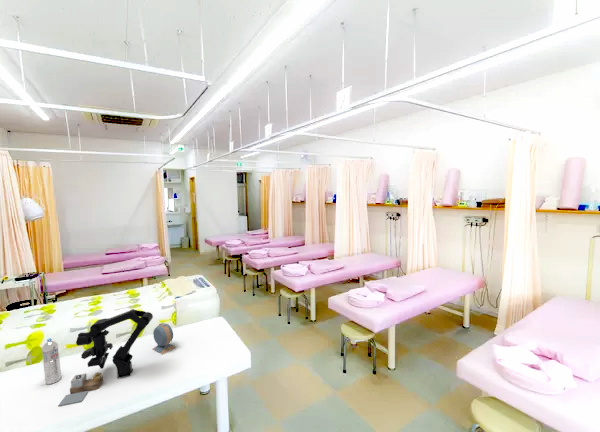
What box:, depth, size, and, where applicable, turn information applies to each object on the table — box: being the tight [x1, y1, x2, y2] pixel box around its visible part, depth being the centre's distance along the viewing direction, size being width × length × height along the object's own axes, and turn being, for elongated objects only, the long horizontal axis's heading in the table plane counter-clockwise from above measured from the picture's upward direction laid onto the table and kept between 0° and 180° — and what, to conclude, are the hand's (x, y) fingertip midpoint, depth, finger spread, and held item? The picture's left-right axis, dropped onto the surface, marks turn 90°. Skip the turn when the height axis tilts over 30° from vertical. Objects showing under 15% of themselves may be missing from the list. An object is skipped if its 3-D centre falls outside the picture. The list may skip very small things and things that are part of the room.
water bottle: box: [41, 338, 62, 385], centre depth 156 cm, size 7×7×25 cm
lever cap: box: [70, 373, 88, 388], centre depth 149 cm, size 5×5×5 cm
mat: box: [57, 391, 89, 407], centre depth 142 cm, size 10×8×1 cm
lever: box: [92, 372, 103, 381], centre depth 153 cm, size 3×3×3 cm
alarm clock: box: [152, 322, 177, 355], centre depth 187 cm, size 14×10×18 cm
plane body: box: [69, 376, 104, 394], centre depth 150 cm, size 13×6×3 cm, turn 106°
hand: (102, 368), depth 159 cm, fingers closed
